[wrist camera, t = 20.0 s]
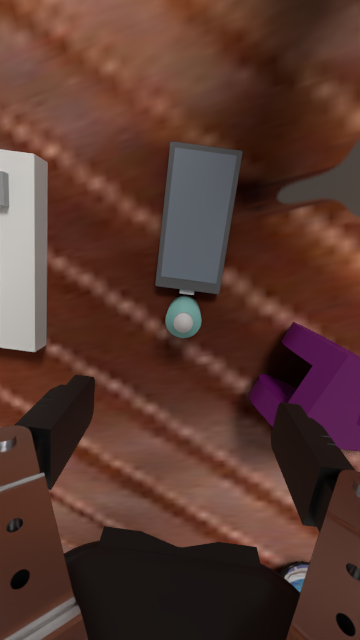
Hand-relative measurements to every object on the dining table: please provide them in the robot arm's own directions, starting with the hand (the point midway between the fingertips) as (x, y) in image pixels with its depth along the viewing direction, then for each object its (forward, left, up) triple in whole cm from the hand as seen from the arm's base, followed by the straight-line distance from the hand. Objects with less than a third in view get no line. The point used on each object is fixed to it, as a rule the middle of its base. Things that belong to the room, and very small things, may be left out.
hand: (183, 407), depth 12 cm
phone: (-10, 0, -20) cm, 22 cm away
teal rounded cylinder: (0, 0, -20) cm, 20 cm away
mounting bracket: (+7, +18, -21) cm, 28 cm away
